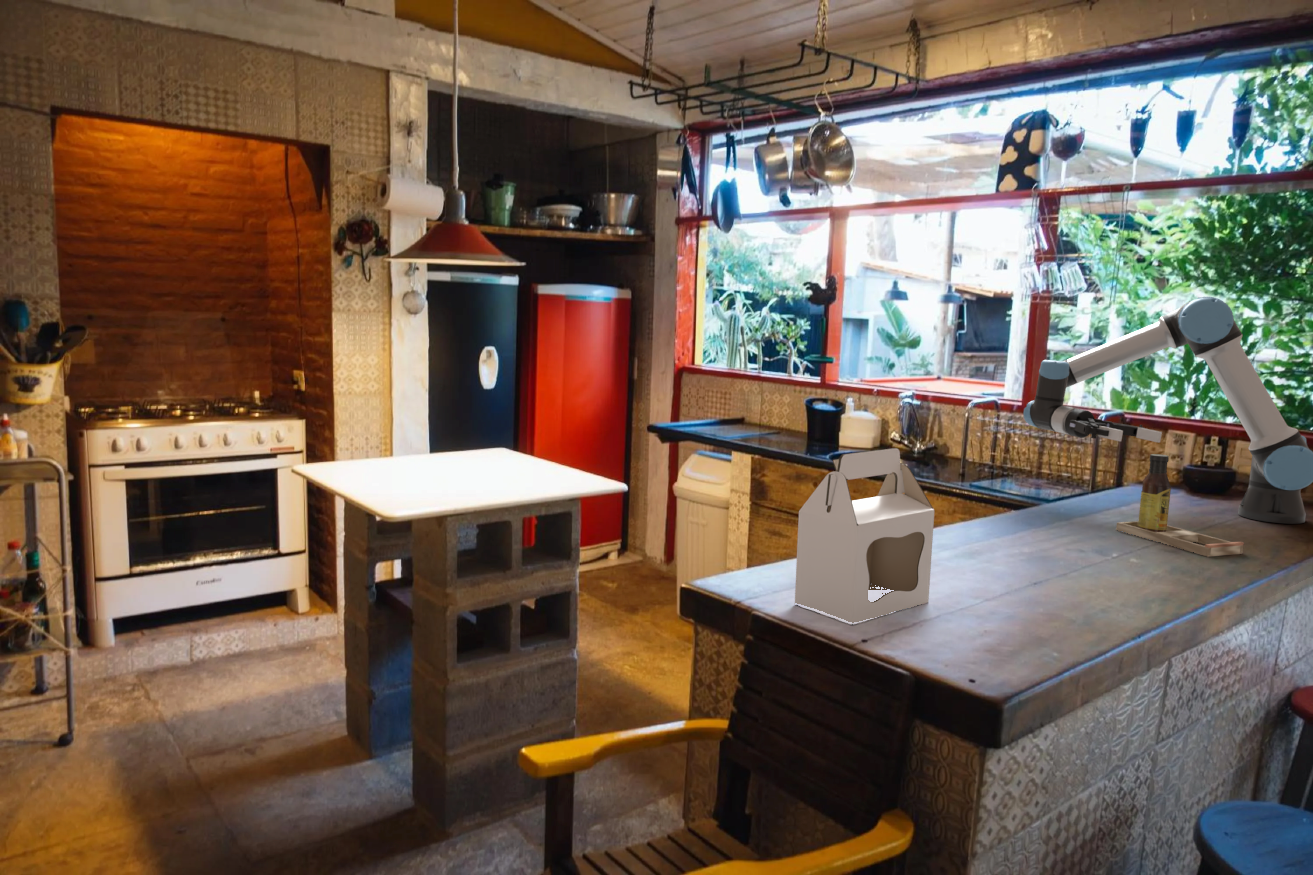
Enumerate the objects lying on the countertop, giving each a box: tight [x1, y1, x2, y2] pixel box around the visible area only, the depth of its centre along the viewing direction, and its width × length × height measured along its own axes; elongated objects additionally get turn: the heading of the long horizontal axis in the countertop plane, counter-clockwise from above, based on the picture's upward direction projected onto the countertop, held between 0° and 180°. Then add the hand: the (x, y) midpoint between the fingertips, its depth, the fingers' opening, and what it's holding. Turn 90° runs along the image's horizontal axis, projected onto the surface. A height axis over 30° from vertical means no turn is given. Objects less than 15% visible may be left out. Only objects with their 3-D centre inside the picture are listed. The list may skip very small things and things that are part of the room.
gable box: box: [794, 447, 935, 623], centre depth 161 cm, size 22×13×28 cm, turn 129°
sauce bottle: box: [1137, 453, 1172, 532], centre depth 221 cm, size 6×6×20 cm
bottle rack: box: [1115, 520, 1245, 557], centre depth 216 cm, size 11×26×3 cm, turn 19°
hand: (1140, 436), depth 226 cm, fingers open, 13 cm apart
